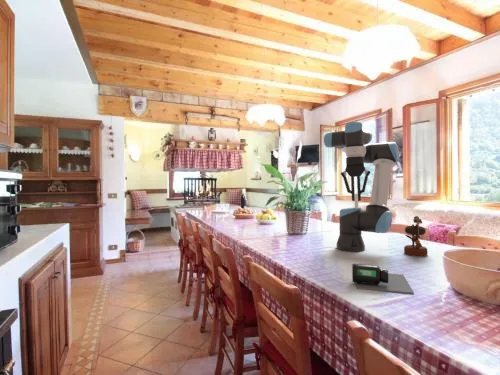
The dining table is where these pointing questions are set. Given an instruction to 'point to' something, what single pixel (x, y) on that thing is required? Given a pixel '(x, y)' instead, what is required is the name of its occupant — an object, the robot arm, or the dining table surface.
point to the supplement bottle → (369, 274)
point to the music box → (415, 239)
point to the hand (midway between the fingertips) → (356, 208)
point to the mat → (390, 285)
